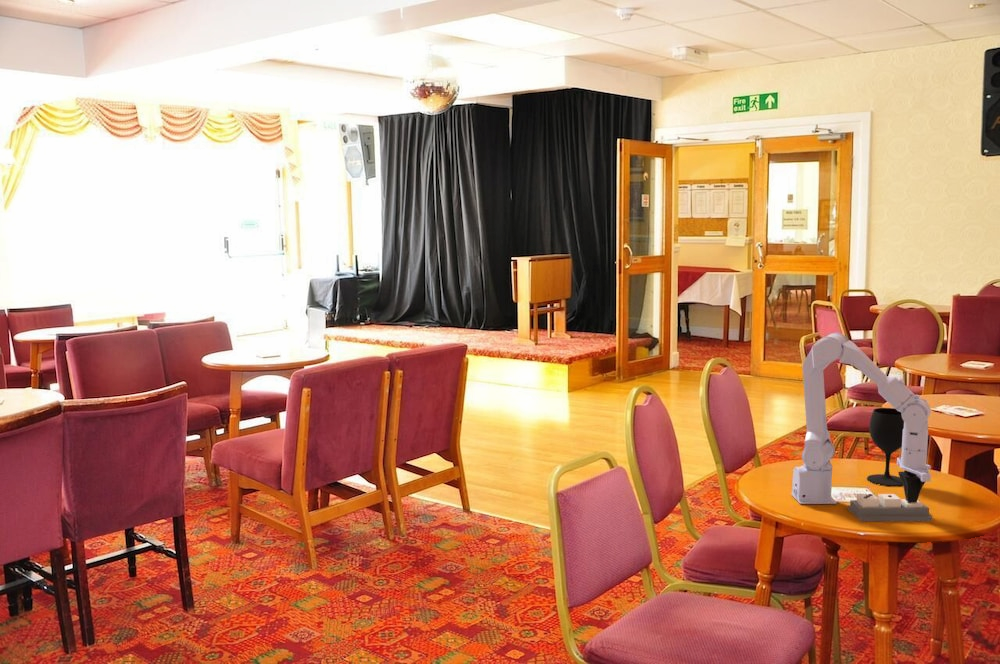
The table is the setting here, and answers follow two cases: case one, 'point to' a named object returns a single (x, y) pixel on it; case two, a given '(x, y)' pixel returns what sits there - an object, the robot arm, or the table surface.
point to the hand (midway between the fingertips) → (911, 501)
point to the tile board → (889, 513)
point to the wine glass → (886, 440)
